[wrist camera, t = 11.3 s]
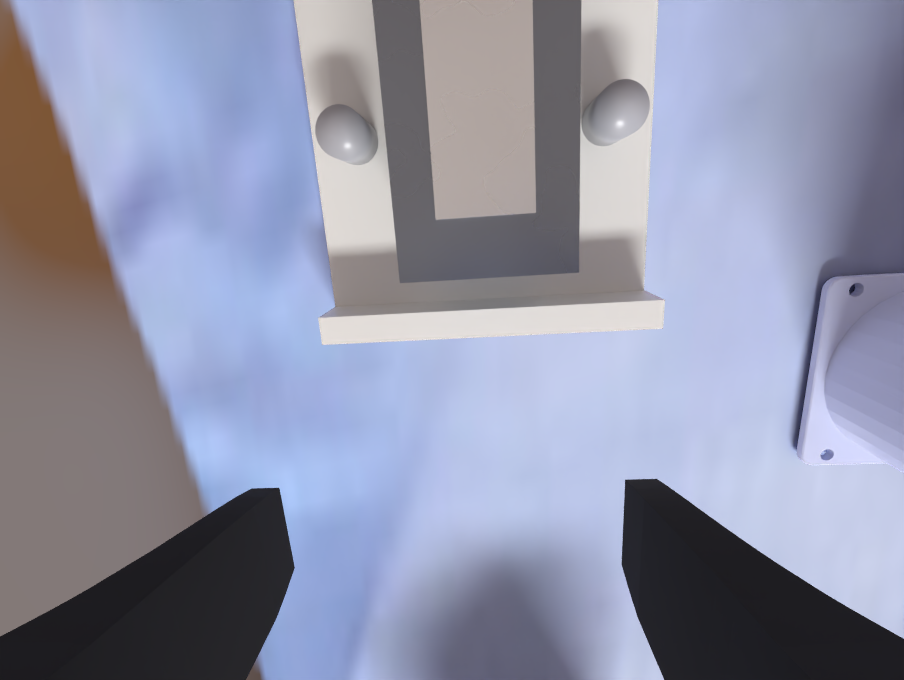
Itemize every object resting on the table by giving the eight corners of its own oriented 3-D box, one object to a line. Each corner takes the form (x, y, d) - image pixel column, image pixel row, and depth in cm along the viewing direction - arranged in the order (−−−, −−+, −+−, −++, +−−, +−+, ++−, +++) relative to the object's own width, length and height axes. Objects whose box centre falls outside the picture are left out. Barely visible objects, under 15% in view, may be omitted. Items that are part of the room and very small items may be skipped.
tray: (652, -113, 15) (695, -193, 12) (633, 310, 18) (663, 328, 15) (293, -71, 15) (250, -136, 13) (345, 325, 19) (322, 344, 16)
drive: (541, -30, 14) (584, -199, 9) (544, 252, 17) (580, 273, 11) (403, -15, 15) (354, -167, 9) (426, 260, 17) (398, 284, 11)
